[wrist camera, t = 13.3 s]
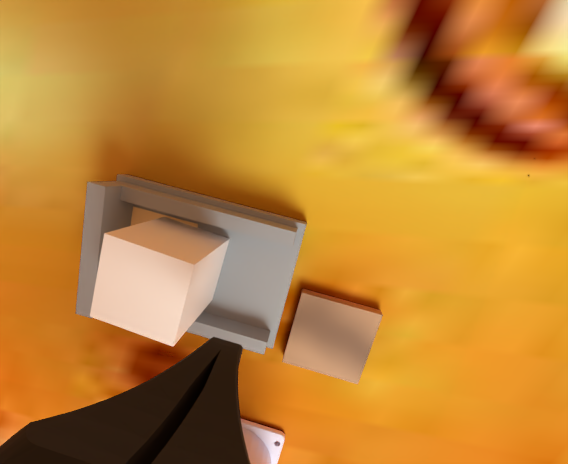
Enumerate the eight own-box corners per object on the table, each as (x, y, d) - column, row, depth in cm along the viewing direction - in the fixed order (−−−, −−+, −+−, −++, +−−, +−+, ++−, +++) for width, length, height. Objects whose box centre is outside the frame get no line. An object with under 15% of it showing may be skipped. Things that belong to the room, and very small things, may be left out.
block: (229, 238, 20) (194, 264, 14) (212, 299, 21) (173, 346, 15) (164, 216, 20) (104, 233, 15) (151, 277, 22) (89, 316, 16)
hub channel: (274, 341, 23) (265, 376, 19) (111, 293, 23) (71, 317, 19) (306, 222, 20) (304, 233, 16) (126, 174, 21) (83, 174, 17)
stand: (356, 376, 22) (357, 384, 22) (283, 355, 23) (282, 361, 22) (380, 310, 21) (382, 315, 20) (302, 288, 21) (301, 292, 21)
